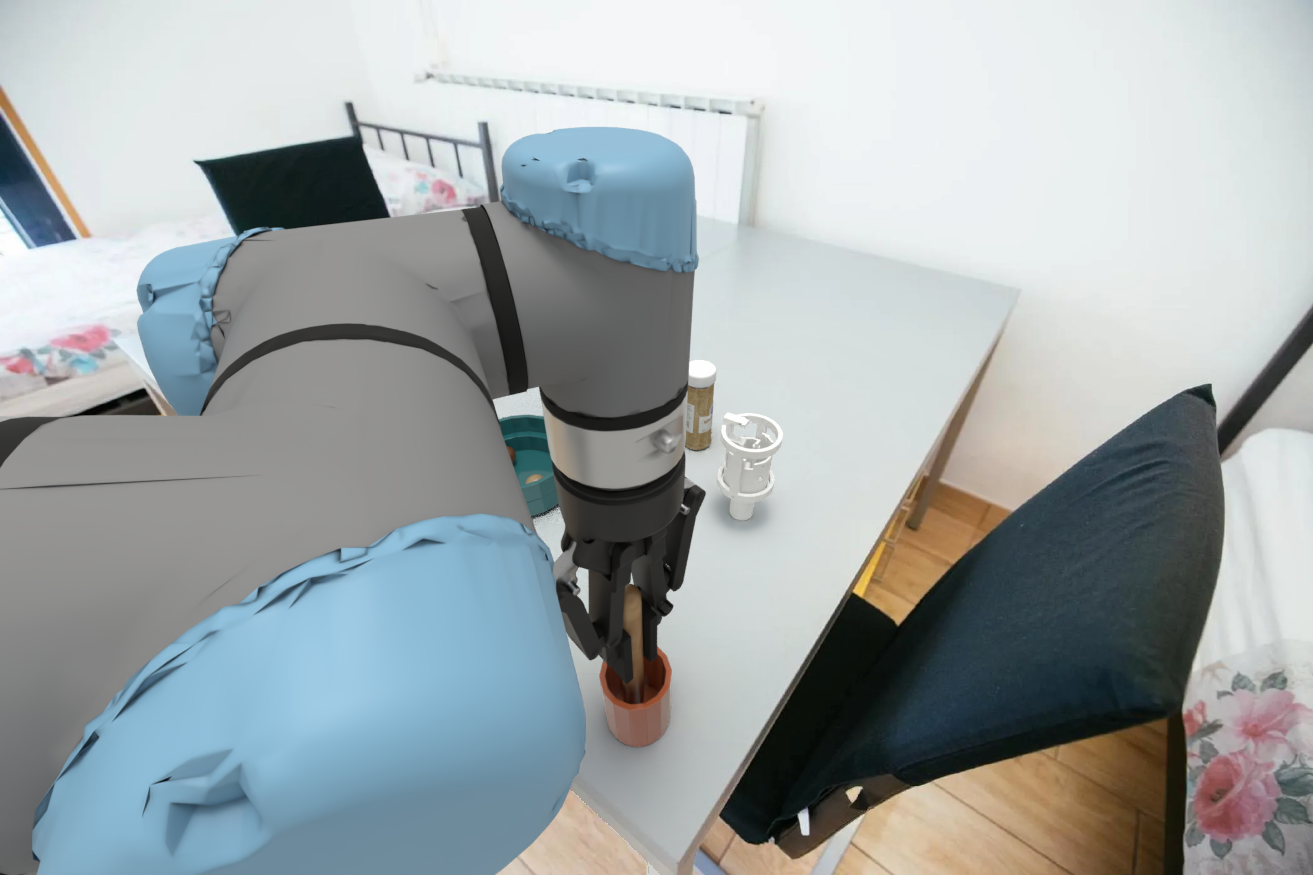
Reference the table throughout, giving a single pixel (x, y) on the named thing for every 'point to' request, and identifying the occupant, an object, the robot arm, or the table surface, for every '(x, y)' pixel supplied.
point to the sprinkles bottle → (700, 404)
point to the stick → (634, 644)
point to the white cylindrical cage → (747, 463)
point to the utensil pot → (639, 720)
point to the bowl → (531, 460)
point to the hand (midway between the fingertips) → (631, 658)
